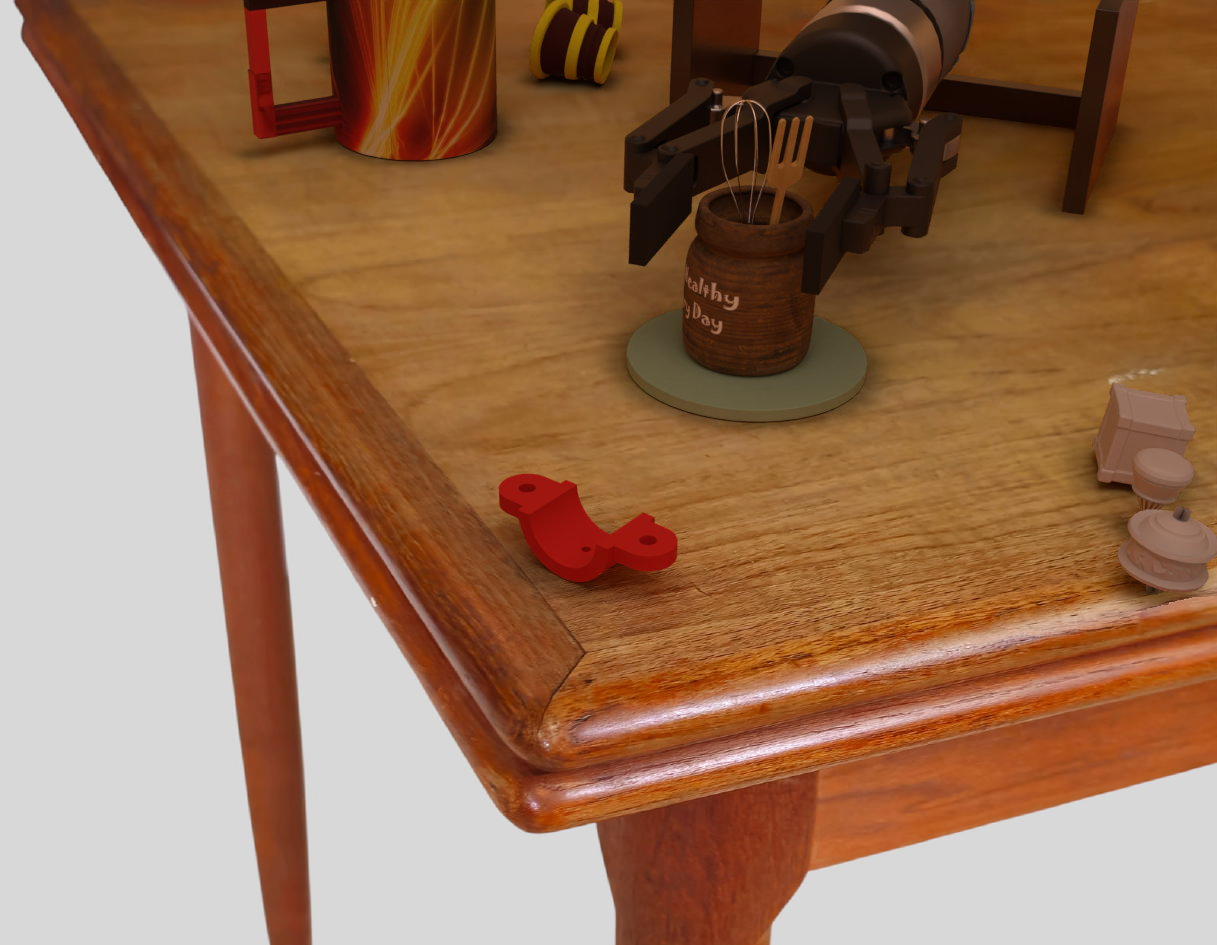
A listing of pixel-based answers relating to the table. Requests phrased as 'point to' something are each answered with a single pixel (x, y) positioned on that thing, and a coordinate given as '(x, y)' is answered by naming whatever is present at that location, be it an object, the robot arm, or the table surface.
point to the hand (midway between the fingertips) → (724, 248)
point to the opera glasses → (576, 39)
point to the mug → (390, 77)
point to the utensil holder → (751, 268)
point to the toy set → (1154, 488)
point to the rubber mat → (788, 395)
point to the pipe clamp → (581, 531)
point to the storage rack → (730, 56)
